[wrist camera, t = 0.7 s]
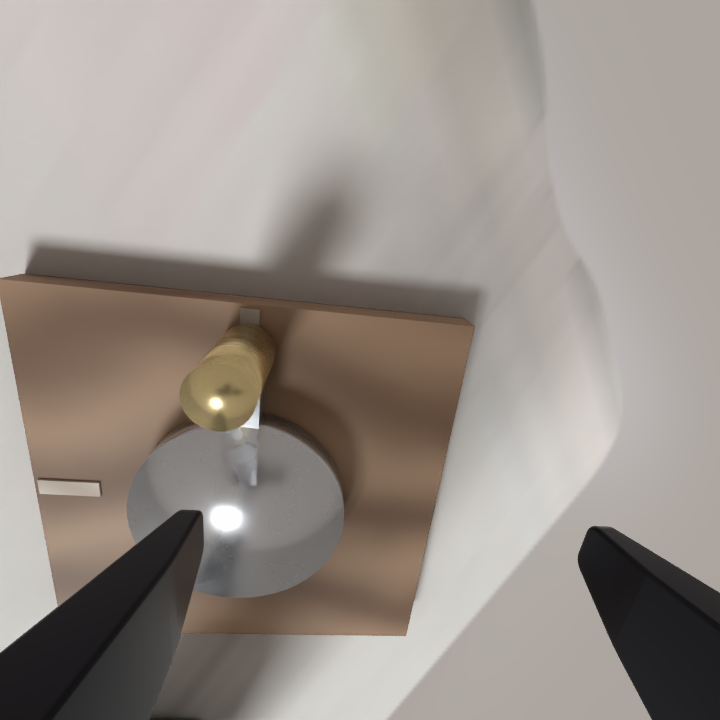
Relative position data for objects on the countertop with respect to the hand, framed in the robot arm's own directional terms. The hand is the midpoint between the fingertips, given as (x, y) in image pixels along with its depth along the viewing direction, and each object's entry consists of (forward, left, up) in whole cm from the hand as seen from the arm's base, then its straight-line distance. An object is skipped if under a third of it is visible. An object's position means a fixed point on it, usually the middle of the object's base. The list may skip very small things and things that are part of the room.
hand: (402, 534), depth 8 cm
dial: (-6, +5, -11) cm, 13 cm away
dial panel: (-8, +5, -12) cm, 16 cm away
